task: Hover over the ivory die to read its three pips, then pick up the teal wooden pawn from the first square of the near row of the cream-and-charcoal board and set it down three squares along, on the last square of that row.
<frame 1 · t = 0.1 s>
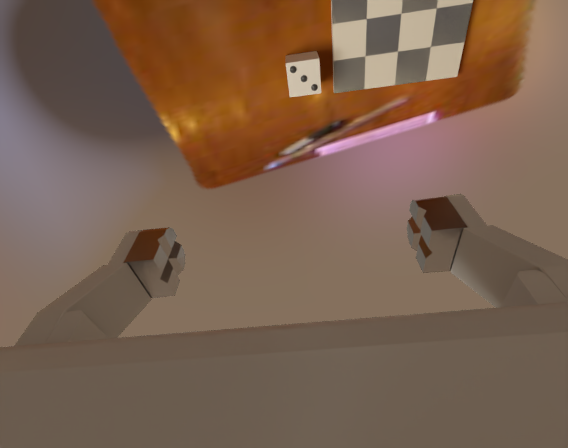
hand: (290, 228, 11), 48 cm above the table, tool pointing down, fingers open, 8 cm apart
board: (399, 12, 47), on the table
die: (302, 69, 52), on the table
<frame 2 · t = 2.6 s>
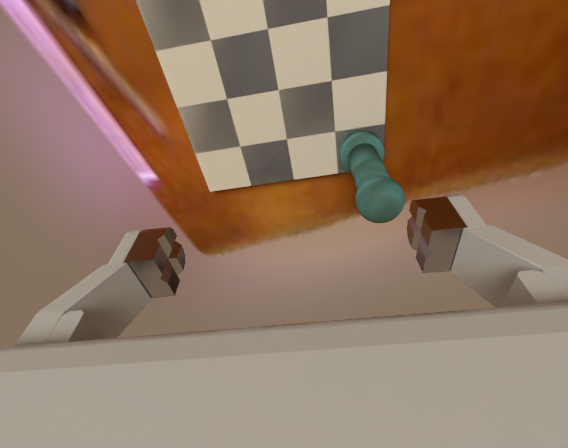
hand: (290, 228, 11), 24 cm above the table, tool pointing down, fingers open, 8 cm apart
board: (278, 86, 30), on the table
pawn: (360, 149, 33), point 1 cm above the table, touching board
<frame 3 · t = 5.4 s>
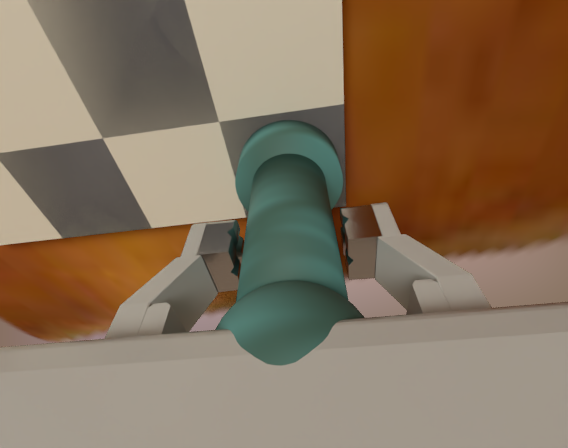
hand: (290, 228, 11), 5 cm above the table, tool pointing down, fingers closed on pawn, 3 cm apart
pawn: (288, 168, 14), point 1 cm above the table, touching board, gripper
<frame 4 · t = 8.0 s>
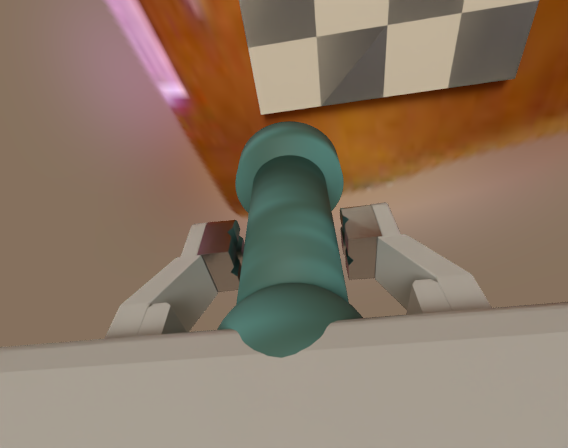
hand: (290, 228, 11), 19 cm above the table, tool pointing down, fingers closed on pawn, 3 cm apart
pawn: (288, 169, 14), point 15 cm above the table, touching gripper
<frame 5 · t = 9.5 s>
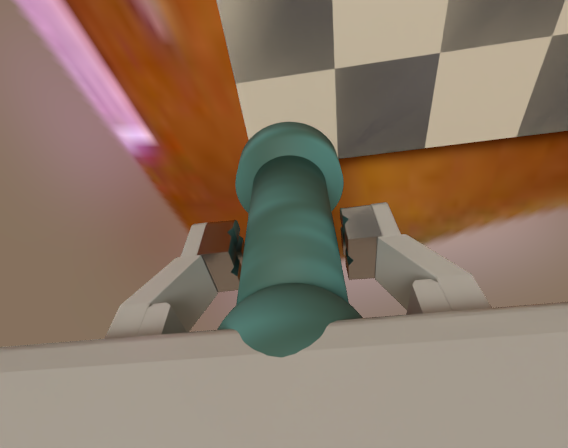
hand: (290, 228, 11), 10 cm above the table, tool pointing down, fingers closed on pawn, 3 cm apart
pawn: (288, 169, 14), point 6 cm above the table, touching gripper
when the fingers open (6 cm above the table, at t = 10.9 s): pawn stays where it is, resting on board.
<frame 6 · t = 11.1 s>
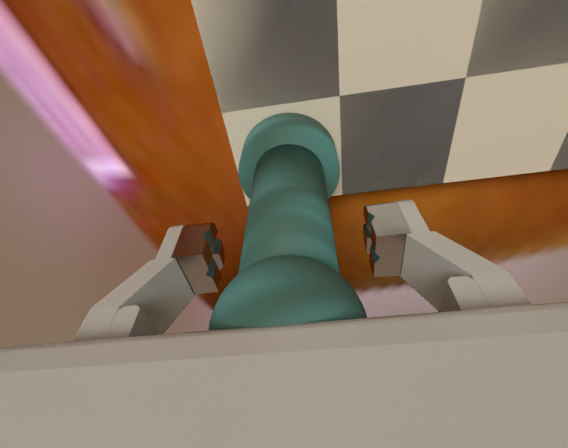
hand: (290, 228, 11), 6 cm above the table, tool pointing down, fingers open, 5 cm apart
pawn: (289, 158, 15), point 1 cm above the table, touching board
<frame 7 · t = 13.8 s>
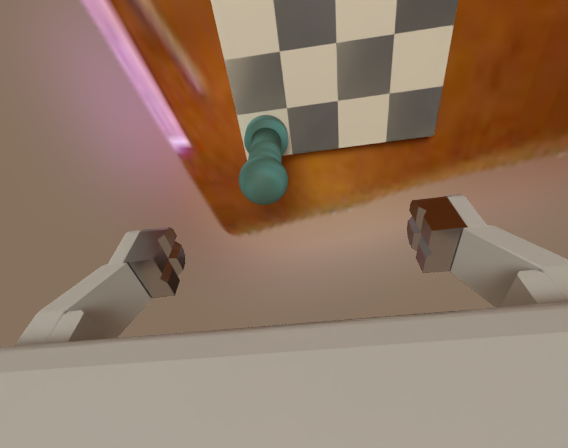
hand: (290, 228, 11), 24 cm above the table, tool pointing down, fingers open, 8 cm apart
board: (334, 40, 28), on the table
pawn: (266, 136, 33), point 1 cm above the table, touching board
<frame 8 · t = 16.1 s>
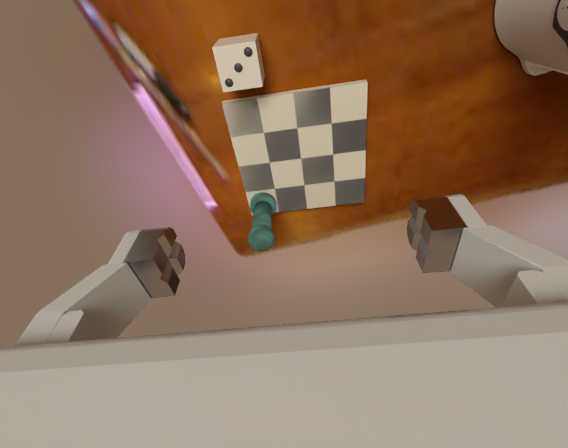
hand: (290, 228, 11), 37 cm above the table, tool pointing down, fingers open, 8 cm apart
board: (300, 154, 50), on the table
pawn: (263, 202, 55), point 1 cm above the table, touching board
die: (242, 57, 41), on the table
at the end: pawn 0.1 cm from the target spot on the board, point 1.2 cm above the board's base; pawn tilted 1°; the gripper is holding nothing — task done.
